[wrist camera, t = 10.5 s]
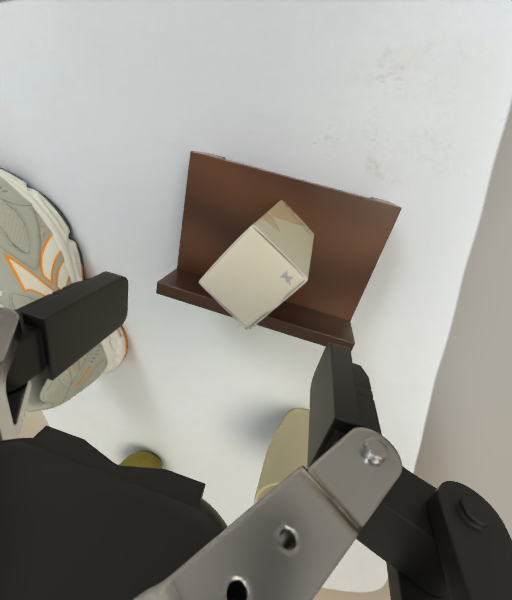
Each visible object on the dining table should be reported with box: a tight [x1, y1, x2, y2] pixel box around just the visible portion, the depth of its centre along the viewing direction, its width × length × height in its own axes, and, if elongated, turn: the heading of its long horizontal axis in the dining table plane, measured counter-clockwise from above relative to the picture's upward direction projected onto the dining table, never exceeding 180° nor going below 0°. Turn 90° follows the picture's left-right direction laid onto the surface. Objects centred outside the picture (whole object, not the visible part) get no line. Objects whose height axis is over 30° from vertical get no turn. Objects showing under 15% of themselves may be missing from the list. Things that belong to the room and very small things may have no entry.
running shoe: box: [0, 168, 127, 412], centre depth 32 cm, size 11×30×14 cm, turn 25°
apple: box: [120, 451, 162, 469], centre depth 48 cm, size 8×8×7 cm
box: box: [199, 200, 314, 329], centre depth 21 cm, size 5×4×11 cm
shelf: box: [156, 151, 401, 352], centre depth 26 cm, size 12×18×9 cm, turn 77°
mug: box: [254, 408, 310, 503], centre depth 35 cm, size 11×10×12 cm
